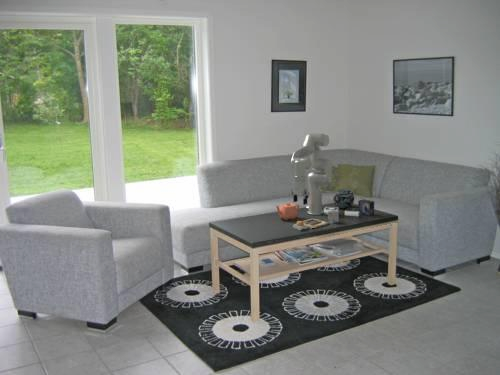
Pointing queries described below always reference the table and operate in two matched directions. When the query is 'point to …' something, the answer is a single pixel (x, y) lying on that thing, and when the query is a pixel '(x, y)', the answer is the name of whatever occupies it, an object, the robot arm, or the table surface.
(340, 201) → the decorative stone
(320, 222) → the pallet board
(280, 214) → the teapot
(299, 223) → the button
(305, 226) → the button housing
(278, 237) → the table surface
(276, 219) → the table surface
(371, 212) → the small box
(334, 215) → the metal billet
